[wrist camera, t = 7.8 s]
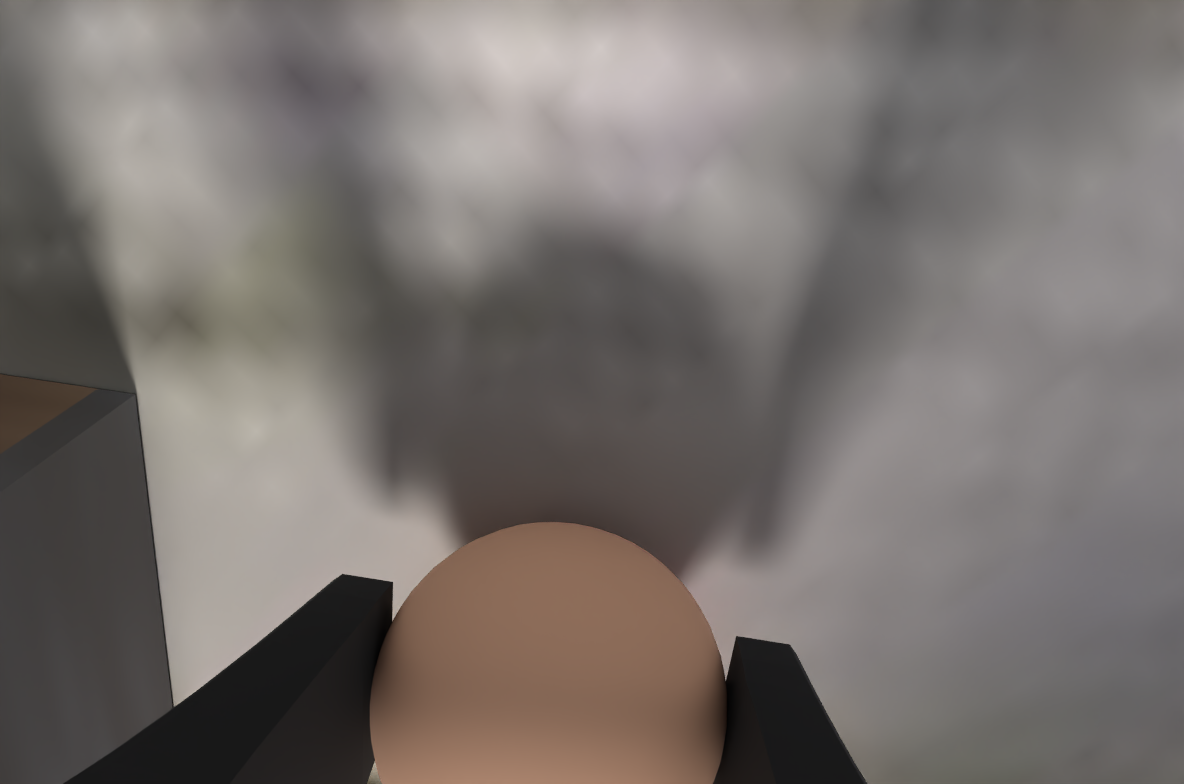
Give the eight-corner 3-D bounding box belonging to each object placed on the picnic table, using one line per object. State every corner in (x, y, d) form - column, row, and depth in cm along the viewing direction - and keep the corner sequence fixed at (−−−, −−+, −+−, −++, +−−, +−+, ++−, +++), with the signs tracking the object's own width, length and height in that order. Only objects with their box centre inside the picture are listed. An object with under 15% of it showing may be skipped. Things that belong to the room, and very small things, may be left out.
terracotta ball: (747, 486, 11) (776, 732, 7) (695, 724, 13) (697, 1020, 9) (431, 438, 11) (305, 656, 7) (421, 680, 13) (315, 952, 9)
